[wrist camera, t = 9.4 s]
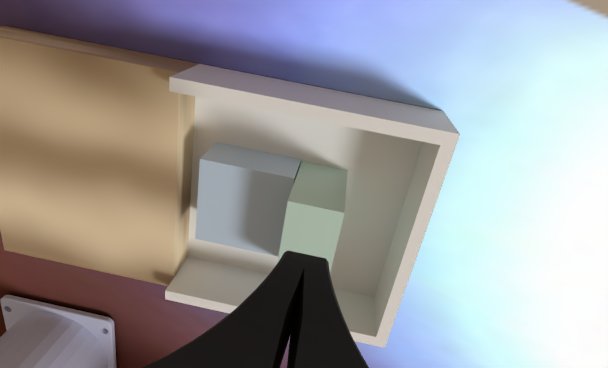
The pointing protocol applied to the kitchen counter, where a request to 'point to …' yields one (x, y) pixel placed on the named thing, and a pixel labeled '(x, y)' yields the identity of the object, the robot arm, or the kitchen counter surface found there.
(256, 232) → the tile
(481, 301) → the kitchen counter surface
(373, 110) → the box
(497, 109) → the kitchen counter surface
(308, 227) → the tile
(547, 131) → the kitchen counter surface
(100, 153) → the oak plate
